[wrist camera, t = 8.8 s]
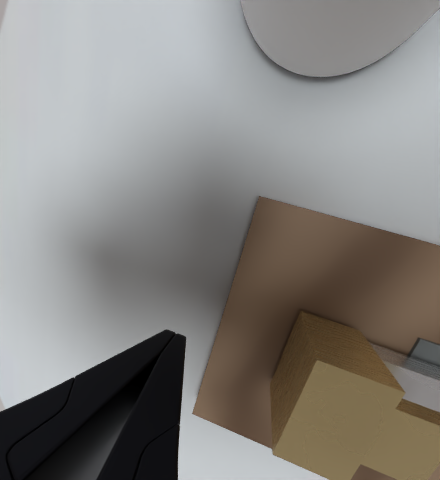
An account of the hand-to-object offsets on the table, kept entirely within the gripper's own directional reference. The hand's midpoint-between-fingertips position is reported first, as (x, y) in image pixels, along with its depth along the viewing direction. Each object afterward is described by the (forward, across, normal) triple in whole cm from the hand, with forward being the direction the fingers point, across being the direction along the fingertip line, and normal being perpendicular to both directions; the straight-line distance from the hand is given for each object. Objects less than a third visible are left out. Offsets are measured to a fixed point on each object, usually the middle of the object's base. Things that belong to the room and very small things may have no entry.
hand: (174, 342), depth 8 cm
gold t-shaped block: (+4, -8, +1) cm, 9 cm away
